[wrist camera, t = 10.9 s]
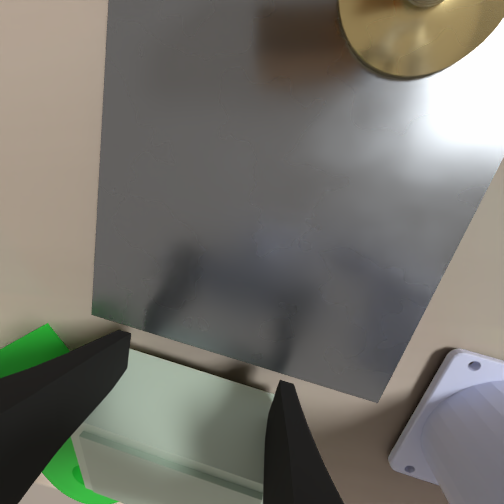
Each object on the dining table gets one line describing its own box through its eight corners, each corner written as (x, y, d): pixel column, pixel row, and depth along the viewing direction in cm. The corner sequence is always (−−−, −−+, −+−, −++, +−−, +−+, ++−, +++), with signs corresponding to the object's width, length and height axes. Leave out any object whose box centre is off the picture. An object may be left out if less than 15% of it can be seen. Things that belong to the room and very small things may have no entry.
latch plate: (662, -225, 6) (762, -335, 5) (369, 383, 12) (379, 406, 11) (152, -283, 7) (123, -387, 6) (108, 303, 13) (88, 316, 12)
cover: (289, 399, 12) (285, 499, 8) (258, 462, 15) (247, 553, 12) (123, 346, 12) (60, 421, 9) (128, 418, 16) (82, 492, 12)
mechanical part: (-5, 356, 16) (-269, 506, 8) (50, 321, 15) (-209, 465, 7) (101, 478, 18) (-38, 695, 10) (160, 458, 16) (49, 694, 9)
